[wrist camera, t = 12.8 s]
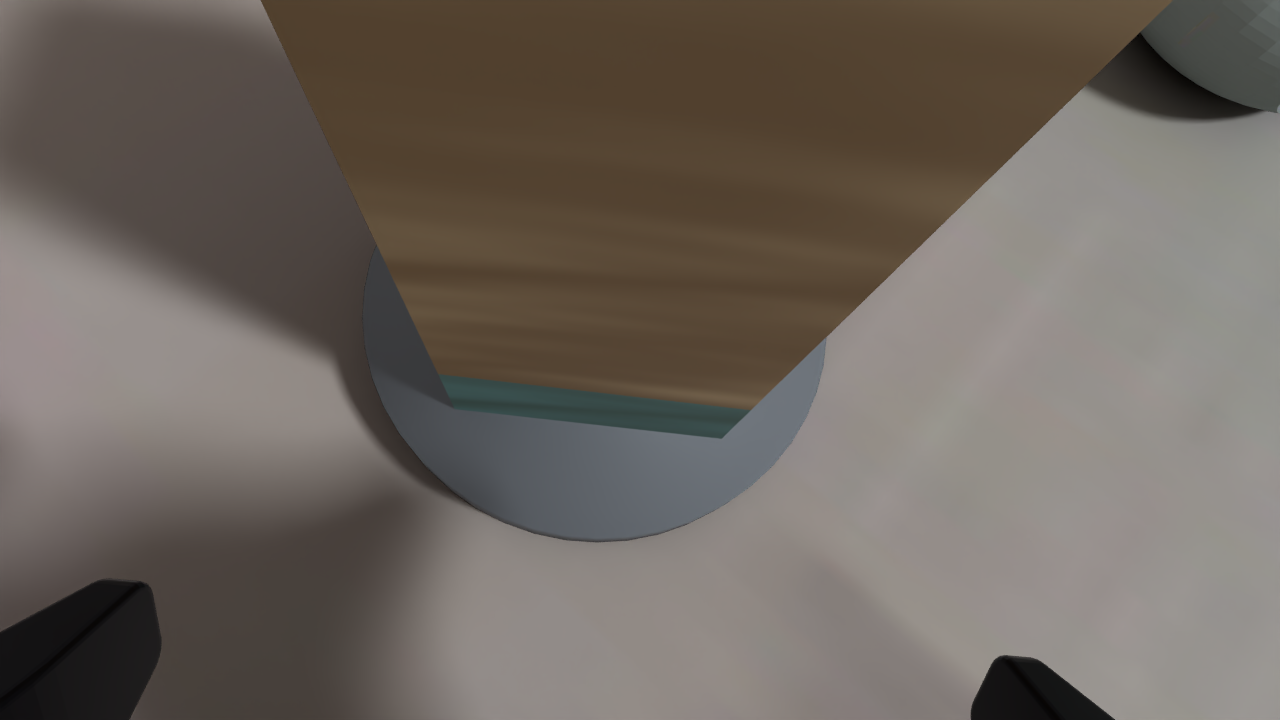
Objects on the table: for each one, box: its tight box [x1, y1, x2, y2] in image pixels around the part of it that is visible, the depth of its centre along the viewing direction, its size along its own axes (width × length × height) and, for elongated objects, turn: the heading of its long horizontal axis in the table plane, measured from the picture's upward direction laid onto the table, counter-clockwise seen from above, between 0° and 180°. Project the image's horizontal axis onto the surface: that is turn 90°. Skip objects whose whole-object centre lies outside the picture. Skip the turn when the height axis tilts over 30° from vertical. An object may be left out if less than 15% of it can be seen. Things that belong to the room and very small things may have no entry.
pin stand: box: [362, 244, 826, 542], centre depth 16 cm, size 11×11×5 cm
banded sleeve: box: [261, 0, 1173, 439], centre depth 11 cm, size 6×6×12 cm
